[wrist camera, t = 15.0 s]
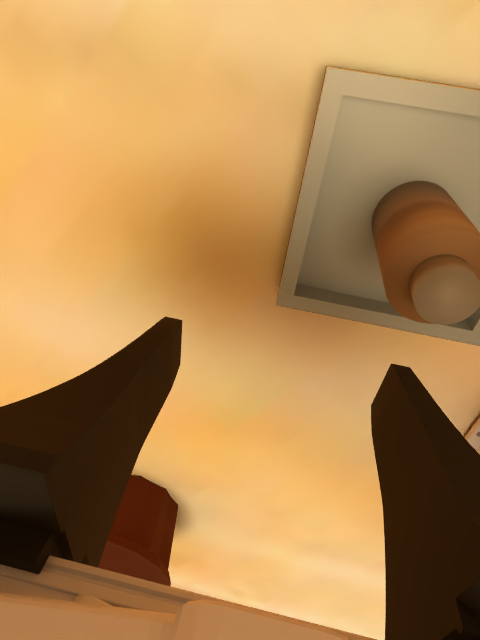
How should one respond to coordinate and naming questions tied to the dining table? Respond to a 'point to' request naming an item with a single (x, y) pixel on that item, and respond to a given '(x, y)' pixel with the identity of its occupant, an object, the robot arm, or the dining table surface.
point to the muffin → (142, 533)
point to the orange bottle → (427, 254)
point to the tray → (376, 189)
